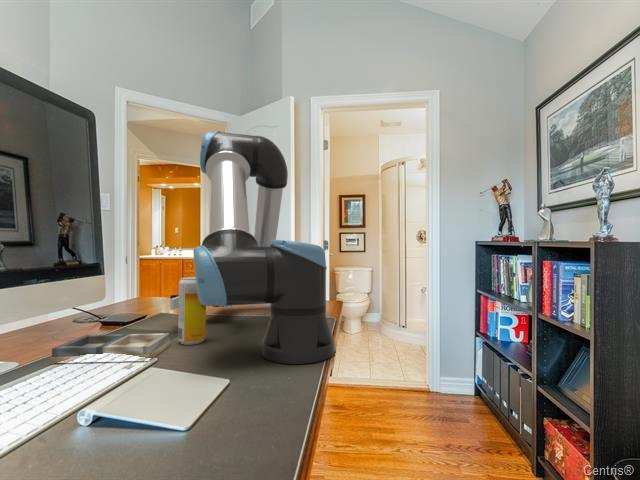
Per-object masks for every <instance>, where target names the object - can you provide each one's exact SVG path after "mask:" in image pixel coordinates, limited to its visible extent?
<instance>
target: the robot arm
mask: <svg viewBox="0 0 640 480" xmlns="http://www.w3.org/2000/svg"><path fill="white" fill-rule="evenodd" d="M200 144H201V145H200V151H199V152H200V153H199V166H200V168H199V169H200V170H201V172H202V173H203V174H205V175H206V176H207V177H208V179H209V181H210V206H209V207H210V209H209V210H210V212H209V234H207V235H206V236H205V237H204V238H203V240H202V243H201V245H199V246H195V247H194V248H193V249H192V250H193V251H192V253H193V264H194V273H195V274H194V275H195V277H196V286H197V294H198V300H199V302H200V303H201V304H203V305H205V306H206V307H213V308H219V307H222V308H224V310H229V309H230V308H231V307H232V306H244V305H246V306H247V305H261V304H262V305H264V304H265V305H266V304H270V317H269V321H268V324H267V327H266V330H265V333H264V336H263V339H262V342H261V356H262V357H263V358H264V359H266V360H268V361H271V362H274V363H280V364H286V365H304V364H312V363H317V362H318V363H319V362H322V361H324V360H325V361H326V360H328V359H330V358H331V357H333V356H334V355H335V339H334V336H333V333H332V331H331V326H330V324H329V321H328V317H327V270H328V268H327V261H326V252H325V249H324V247H322V246H320V245H318V244H315V243H307V242H301V241H293V240H284V239H277V237H278V236H277V234H278V229H279V220H280V214H281V205H282V199H283V198H282V197H283V190H284V189H286V188H287V185H288V178H289V176H288V175H289V174H288V172H289V171H288V167H287V163H286V159H285V157H284V155H283V153H282V152H281V149H279V147H278V146H277V145H276V144H275V143H274V142H273V141H272V140H270V139H269V138H267V137H264V136H261V135H252V134H241V133H231V132H223V131H219V130H218V131H207V132H205V133H204V135H203V137H202V140H201V143H200ZM249 178H255V183H256V185H257V187H258V188H257V189H258V190H257V199H256V200H257V201H256V212H255V224H254V235H253V234H252V233H251V232H250V221H249V210H248V196H247V186H246V185H247V184H246V183H247V180H248V179H249ZM169 296H170V297H169V298H170V299H169V301H170V302H169V305H170V306H169V310H170V311H174V310H176V309H178V305H179V293H178V294H171V295H169Z"/></svg>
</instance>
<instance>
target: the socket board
mask: <svg viewBox="0 0 640 480" xmlns="http://www.w3.org/2000/svg"><path fill="white" fill-rule="evenodd" d="M170 335H171V334H170V333H169V332H167V333H123V334H120V333H119V334H118V333H116V334H114V333H113V334H111V333H110V334H86V335H83V336H80V337H78V338H75V339H73V340H70V341H68V342H65V343H63V344H60V345H57V346H56V347H55V346H54V347H52V348H51V357H49V365H56V364H55V363H58V362H61V361H65V360H68V359H70V358H73V357H76V356H80V355H86V354H103V353H114V354H126V355H133V356H139V357H145V358H152V357H154V358H155V357H157V356H158V355H159V354H160V353H162V352H163V351H165V350H166V349H167V348H169V347H170V346H171V339H170V338H171V337H170ZM152 359H153V358H152Z"/></svg>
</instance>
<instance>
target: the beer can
mask: <svg viewBox="0 0 640 480" xmlns="http://www.w3.org/2000/svg"><path fill="white" fill-rule="evenodd" d="M178 294H179V305H178V308H177V309H178V313H177V314H178V316H177V317H178V318H177V320H178V322H177V326H178V328H177V340H178V342H179V343H180V345H183V344H184V345H183V346H190V345H198V344H201V343H203V342H204V341H205V339H206V338H207V333H206V332H207V306H205V305H203V304H201V303H200V302H199V300H198V294H197V286H196V276H192V277H191V276H189V277H188V276H187V277H180V280H179V282H178Z"/></svg>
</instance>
